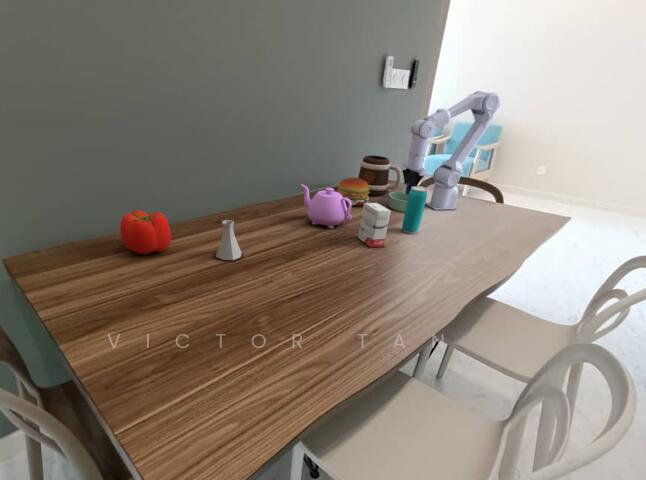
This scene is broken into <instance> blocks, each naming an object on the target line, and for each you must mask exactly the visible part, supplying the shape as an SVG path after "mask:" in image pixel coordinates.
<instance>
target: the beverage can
mask: <svg viewBox="0 0 646 480" xmlns="http://www.w3.org/2000/svg"><path fill="white" fill-rule="evenodd" d="M427 197H428V189H427V188H426V187H423V186H419V187H418V186H414V187H411V190H410V192H409V196H408V201H407V206H406V210H405V212H404V214H403V220H402V225H401V226H402V231H403V232H404V233H405V234H410V235H415V234H417V232H418V231H419V229H420V227H421V222H422V218H423V214H424V209H425V206H426V203H427V202H426V201H427Z"/></svg>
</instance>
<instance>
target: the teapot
mask: <svg viewBox="0 0 646 480" xmlns="http://www.w3.org/2000/svg"><path fill="white" fill-rule="evenodd" d="M300 186H301V187H302V189H303V192H304V194H303V195H304V198H303V205H304V206H305V208H306V215H307V217H308V219H309V220H310V221H311V224H312V225H322V226H326V227H327V228H328V229H333V228H335V227H334V226H337V225H341V224H342V223H343V222H345V221H351V220H352V218H353V216H352V214H351V213H350V211H351V209H352V207H353V205H352V203H351V201H350V199H348V198H343V197H342V195H341V194H340V193H338V191H335V189H334V188H332V187H325V190H319V191H317V192H316V193H315V195H314V196H313V197H312V198H311V197H310V190H309V188H308V186H307V185H305V184H303V183H301V184H300ZM344 200H345V201H347V202H348V206H347V205H346V203H345V201H344Z"/></svg>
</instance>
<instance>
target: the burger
mask: <svg viewBox="0 0 646 480" xmlns="http://www.w3.org/2000/svg"><path fill="white" fill-rule="evenodd" d="M337 186H338V187H337V192H338V193H340V194H341V195H342V197H343V198H348V199H350V201H351V203H352V206H364V203H370V197H369V195H368V194H369V193H370V192H369V185H368V184H367V182H365V181H364V180H362V179H359V178H358V177H347V178H343V179H342V180H340V182H338V185H337ZM344 201H345V200H344ZM345 203H346V206H347V205H348V202H347V201H345Z"/></svg>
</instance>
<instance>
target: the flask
mask: <svg viewBox="0 0 646 480" xmlns="http://www.w3.org/2000/svg"><path fill="white" fill-rule="evenodd" d="M221 224H222V227H223V228H222V236H221V239H220V243H219V245H218V248H217V251H216V254H215V257H216V258H217V259H219V260H223V261H235V260H238V259H240V258H241V257H242V251H241V248H240V246H239V243H238V241H237V238H236V236H235V231H234V224H235V221H234V220H231V219H230V220H229V219H225V220H222V222H221Z"/></svg>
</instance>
